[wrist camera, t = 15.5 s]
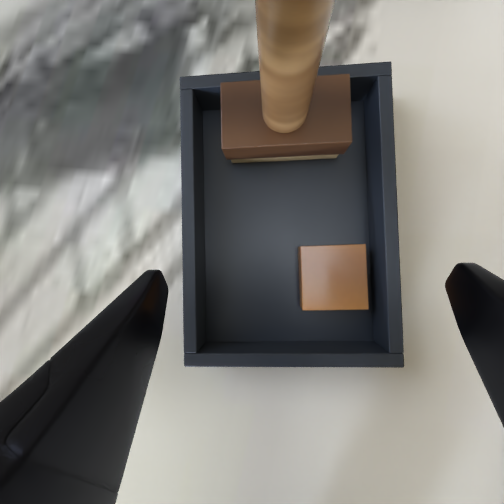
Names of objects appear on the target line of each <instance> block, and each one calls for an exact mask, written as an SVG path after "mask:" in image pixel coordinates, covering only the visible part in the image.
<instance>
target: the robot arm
mask: <svg viewBox="0 0 504 504" xmlns="http://www.w3.org/2000/svg"><path fill="white" fill-rule="evenodd" d="M445 288H446V291H447V294H448V298H449V301H450V304H451V307H452V310H453V313H454V316H455V319H456V322H457V325H458V328H459V330H460V333H461V336H462V338H463V340H464V342H465V345H466V347H467V349H468V351H469V353H470V355H471V358H472V360H473V362H474V364H475V366H476V368H477V371H478V373H479V375H480V377H481V379H482V381H483V383H484V386H485V388H486V390H487V392H488V394H489V396H490V399H491V401H492V403H493V405H494V407H495V409H496V412H497V414H498V416H499V418H500V420H501V422H502V424H503V427H504V280H503V279H501V278H499V277H498V276H496V275H494V274H493V273H491V272H489V271H488V270H486V269H484V268H482V267H481V266H479V265H477V264H475V263H458V264H457V265H456V266H455V267H454V269H453V270H452V272H451V274H450V275H449V277H448V278H447V280H446V283H445ZM167 298H168V286H167V283H166V281H165V279H164V276H163V274H162V272H161V271H160V270H147V271H146V272H144V273H143V274H142V275H141V276H140V277H139V278H138V279H137V280H136V281H135V282H133V283H132V284H131V285H130V286H129V287H128V288H127V289H126V290H125V291H124V292H122V293H121V294H120V295H119V296H118V297H117V298H116V299H115V300H114V301H113V302H112V303H110V304H109V305H108V306H107V307H106V308H105V309H104V310H103V311H102V312H101V313H99V314H98V315H97V316H96V317H95V318H94V319H93V320H92V321H91V322H90V323H89V324H87V325H86V326H85V327H84V328H83V329H82V330H81V331H80V332H79V333H78V334H77V335H75V336H74V337H73V338H72V339H71V340H70V341H69V342H68V343H67V344H66V345H64V346H63V347H62V348H61V349H60V350H59V351H58V352H57V353H56V354H55V355H54V356H52V357H51V359H50V360H48V361H47V362H46V363H45V364H44V365H42V366H41V367H40V368H39V369H38V370H37V371H36V372H35V373H34V374H33V375H31V376H30V377H29V378H28V379H27V380H26V381H25V382H23V383H22V384H21V385H20V386H19V387H18V388H17V389H16V390H14V391H13V392H12V393H11V394H10V395H8V396H7V397H6V398H5V399H4V400H2V401H1V402H0V504H115V503H116V499H117V495H118V493H117V492H118V491H119V488H120V484H121V480H122V477H123V473H124V469H125V466H126V462H127V459H128V455H129V451H130V448H131V444H132V441H133V437H134V433H135V430H136V426H137V423H138V419H139V415H140V412H141V408H142V405H143V401H144V397H145V394H146V390H147V387H148V383H149V379H150V376H151V372H152V369H153V365H154V361H155V358H156V354H157V351H158V347H159V343H160V339H161V335H162V330H163V323H164V317H165V311H166V304H167Z"/></svg>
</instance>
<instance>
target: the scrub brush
mask: <svg viewBox="0 0 504 504" xmlns="http://www.w3.org/2000/svg"><path fill="white" fill-rule="evenodd" d="M334 3H335V0H255V5H256V20H257V36H258V52H259V68H260V80H251V81H236V82H222V83H220V99H221V148H222V151H223V153H224V155H225V157H226V160H231V162H232V163H249V162H270V161H291V160H312V159H332V158H337V156H338V155H339V154H344V153H345V152H346V150H347V149H348V147H349V146H350V145H351V143H352V118H351V91H350V74H337V75H323V76H317V73H318V69H319V65H320V61H321V57H322V52H323V48H324V44H325V40H326V36H327V32H328V28H329V24H330V19H331V15H332V11H333V7H334Z"/></svg>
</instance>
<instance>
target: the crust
mask: <svg viewBox="0 0 504 504" xmlns="http://www.w3.org/2000/svg"><path fill="white" fill-rule="evenodd" d="M298 262H299V290H300V307H301V309H302V310H303V311H314V310H368V309H369V304H368V282H367V259H366V244H349V245H318V246H300V247H298Z"/></svg>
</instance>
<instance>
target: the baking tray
mask: <svg viewBox="0 0 504 504" xmlns="http://www.w3.org/2000/svg"><path fill="white" fill-rule="evenodd" d="M337 74H350V91H351V118H352V143H351V145H350V146H349V147H348V149H347V150H346V152H345V153H344V154H339V155H338V156H337V158H332V159H312V160H291V161H270V162H249V163H232V162H231V160H226V157H225V155H224V153H223V151H222V148H221V99H220V83H222V82H236V81H251V80H260V71H255V72H242V73H228V74H214V75H200V76H187V77H180V104H181V177H182V249H183V322H184V366H186V367H404V355H403V352H404V350H403V327H402V304H401V281H400V258H399V235H398V212H397V188H396V165H395V142H394V119H393V96H392V76H391V75H392V69H391V62H379V63H365V64H351V65H338V66H324V67H319V69H318V73H317V76H323V75H337ZM349 244H366V259H367V282H368V304H369V309H368V310H314V311H303V310H302V309H301V307H300V290H299V262H298V247H300V246H318V245H349Z"/></svg>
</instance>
